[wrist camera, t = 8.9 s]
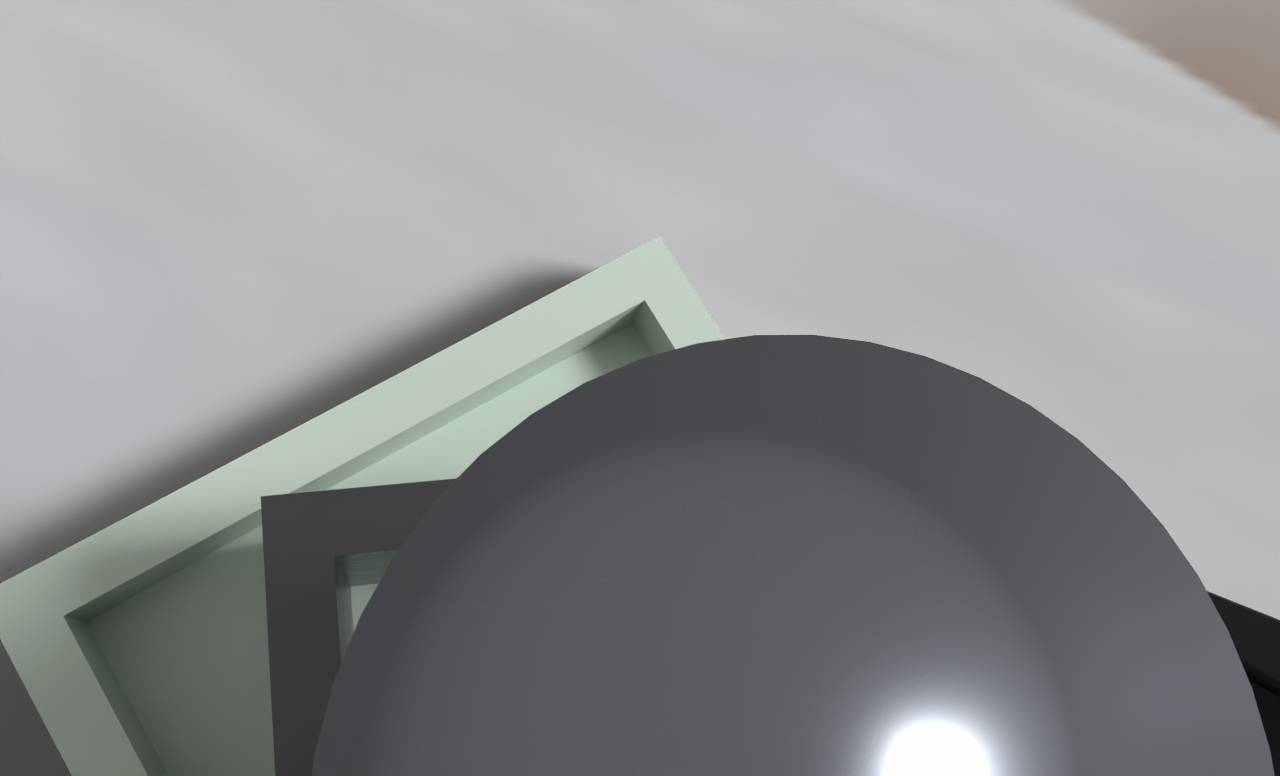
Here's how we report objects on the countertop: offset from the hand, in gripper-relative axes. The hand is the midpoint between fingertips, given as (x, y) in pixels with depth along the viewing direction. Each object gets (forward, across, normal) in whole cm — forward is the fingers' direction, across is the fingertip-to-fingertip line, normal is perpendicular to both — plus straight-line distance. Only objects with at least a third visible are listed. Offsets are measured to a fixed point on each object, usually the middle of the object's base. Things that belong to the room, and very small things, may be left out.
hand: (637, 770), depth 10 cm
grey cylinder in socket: (+6, 0, +6) cm, 9 cm away
